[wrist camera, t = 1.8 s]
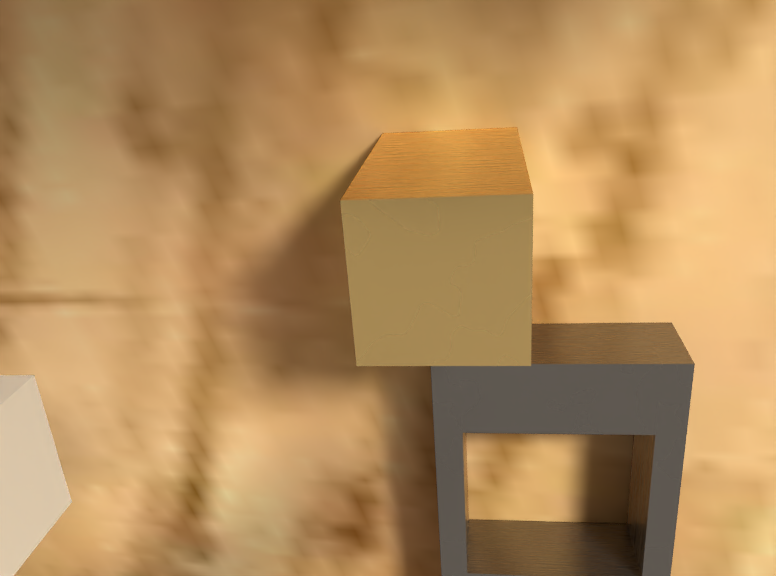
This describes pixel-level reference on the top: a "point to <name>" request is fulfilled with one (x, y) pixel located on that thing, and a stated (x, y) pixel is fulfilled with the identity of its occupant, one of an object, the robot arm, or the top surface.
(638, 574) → the gray slotted rack
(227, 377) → the top surface
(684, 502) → the top surface
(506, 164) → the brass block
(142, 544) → the top surface
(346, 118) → the top surface
